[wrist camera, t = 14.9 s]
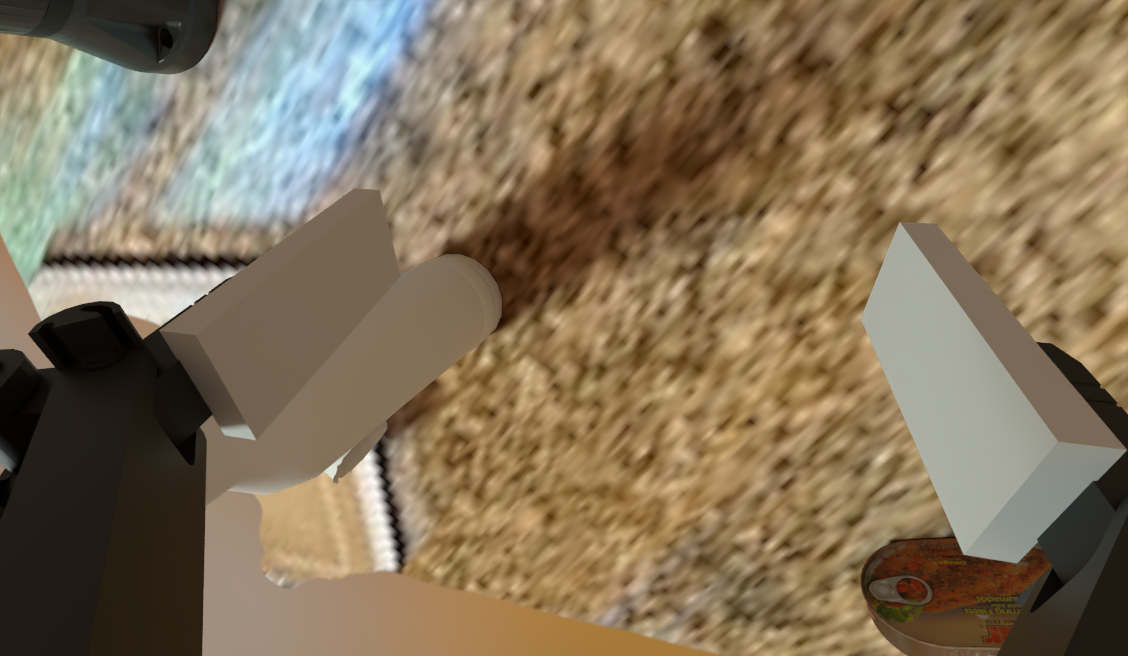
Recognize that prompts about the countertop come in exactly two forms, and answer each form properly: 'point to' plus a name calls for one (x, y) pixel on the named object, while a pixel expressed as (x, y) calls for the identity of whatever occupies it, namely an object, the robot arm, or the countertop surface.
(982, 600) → the tin
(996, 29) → the countertop surface
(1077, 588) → the robot arm
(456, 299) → the bottle
